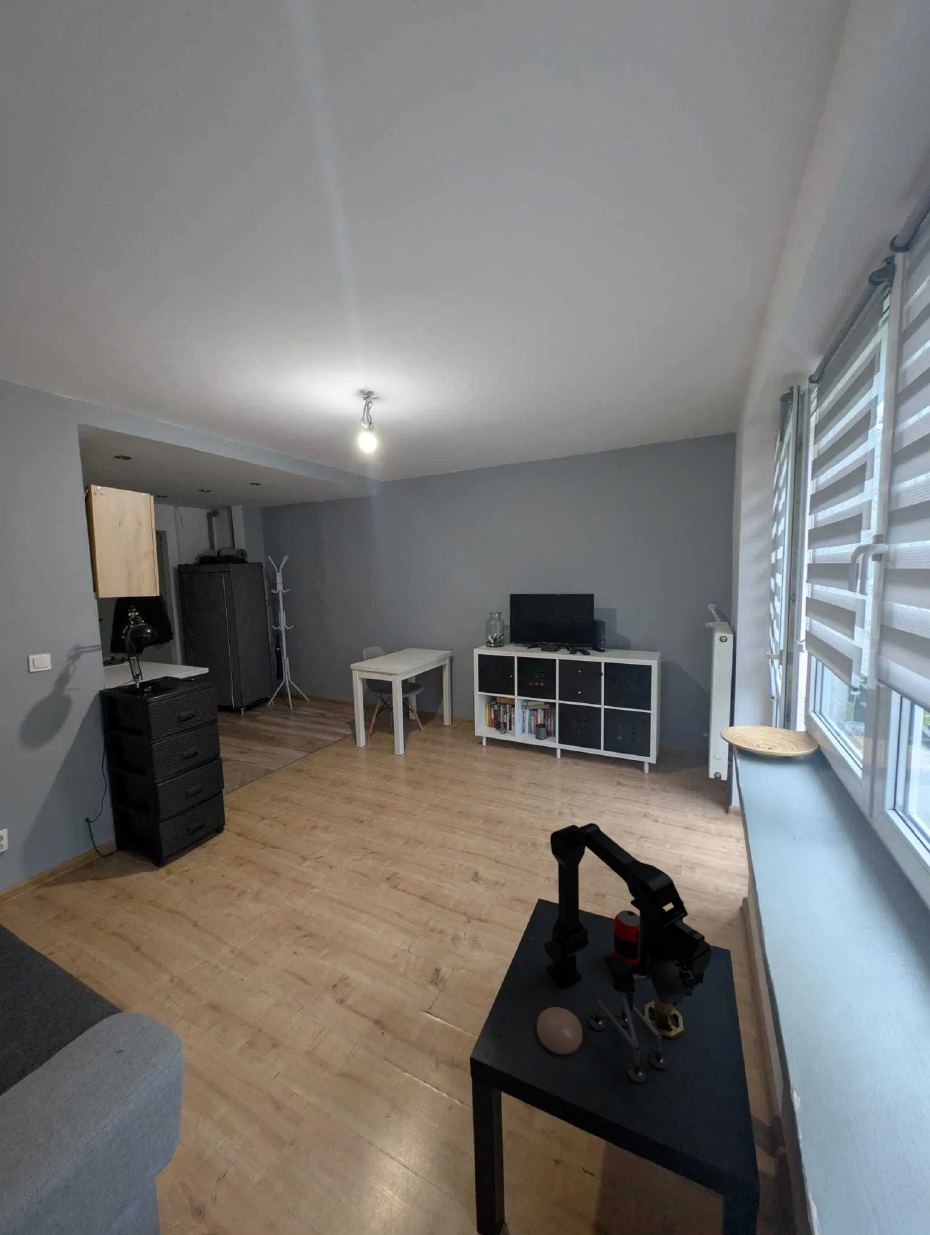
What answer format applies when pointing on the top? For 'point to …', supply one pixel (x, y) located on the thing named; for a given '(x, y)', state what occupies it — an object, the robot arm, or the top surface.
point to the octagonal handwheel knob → (664, 1017)
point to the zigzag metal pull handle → (625, 1020)
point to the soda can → (626, 935)
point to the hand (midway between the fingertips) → (652, 1006)
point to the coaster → (559, 1030)
